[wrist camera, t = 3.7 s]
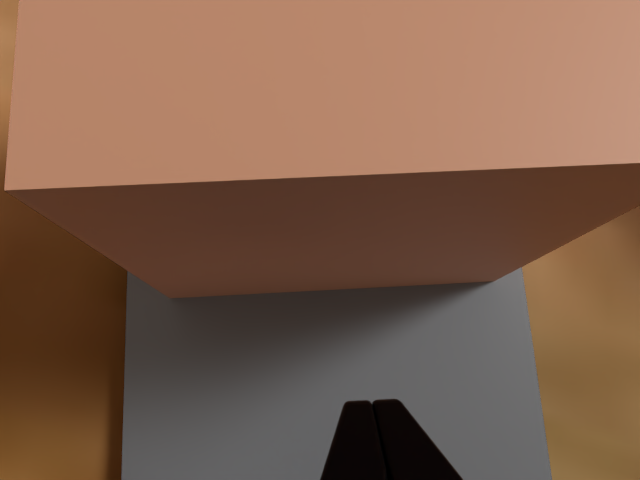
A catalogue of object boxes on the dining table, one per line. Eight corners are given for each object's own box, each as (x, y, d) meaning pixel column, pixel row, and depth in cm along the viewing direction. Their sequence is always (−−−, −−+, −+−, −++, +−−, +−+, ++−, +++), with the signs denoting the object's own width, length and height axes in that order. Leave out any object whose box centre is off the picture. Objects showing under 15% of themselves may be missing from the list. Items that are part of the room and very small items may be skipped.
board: (553, 556, 15) (564, 563, 14) (125, 586, 14) (118, 595, 14) (464, -82, 20) (469, -97, 19) (142, -77, 19) (137, -91, 19)
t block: (494, 281, 16) (727, 159, 7) (169, 298, 16) (3, 190, 7) (462, 44, 18) (619, -282, 9) (171, 53, 17) (40, -279, 9)
